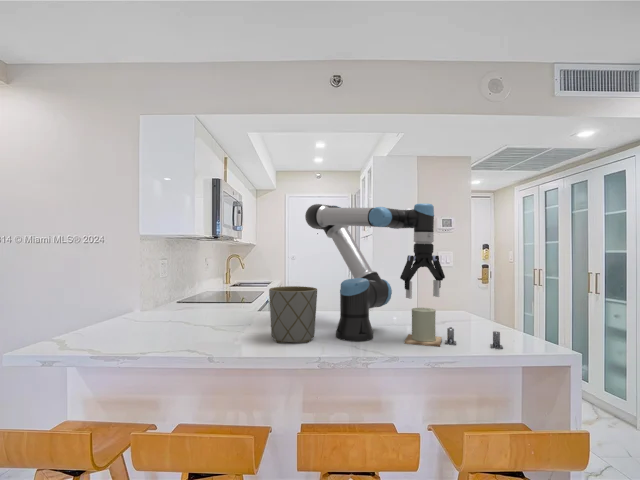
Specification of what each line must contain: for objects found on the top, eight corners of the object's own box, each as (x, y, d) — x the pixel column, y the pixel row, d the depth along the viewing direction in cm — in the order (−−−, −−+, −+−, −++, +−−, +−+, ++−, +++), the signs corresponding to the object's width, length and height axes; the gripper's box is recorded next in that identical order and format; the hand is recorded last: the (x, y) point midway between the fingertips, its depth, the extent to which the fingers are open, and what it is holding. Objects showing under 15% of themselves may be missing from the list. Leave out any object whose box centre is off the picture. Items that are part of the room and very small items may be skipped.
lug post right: (491, 349, 140) (491, 333, 140) (490, 345, 145) (490, 330, 145) (503, 350, 138) (503, 334, 139) (501, 346, 143) (501, 331, 143)
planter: (318, 344, 145) (318, 291, 145) (267, 345, 143) (267, 291, 144) (315, 333, 164) (315, 286, 164) (270, 333, 162) (270, 286, 163)
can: (424, 343, 145) (424, 311, 145) (406, 338, 152) (406, 307, 152) (440, 339, 150) (440, 308, 150) (422, 335, 157) (422, 305, 158)
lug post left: (444, 344, 146) (444, 329, 146) (445, 341, 151) (445, 326, 151) (456, 345, 145) (456, 330, 145) (456, 341, 150) (456, 327, 150)
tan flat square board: (404, 343, 147) (404, 341, 147) (408, 336, 159) (408, 334, 159) (440, 346, 143) (440, 344, 143) (441, 338, 155) (441, 336, 155)
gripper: (403, 242, 143) (402, 300, 143) (454, 243, 154) (453, 297, 153) (391, 242, 150) (390, 297, 150) (441, 243, 160) (440, 294, 160)
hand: (422, 297), depth 151 cm, fingers open, 13 cm apart
